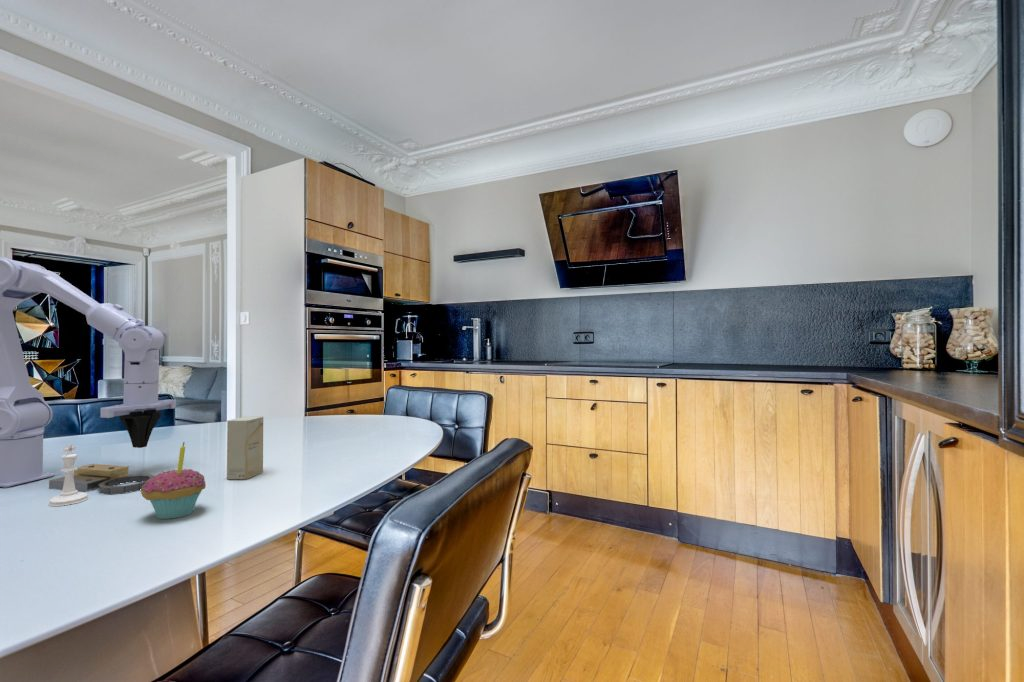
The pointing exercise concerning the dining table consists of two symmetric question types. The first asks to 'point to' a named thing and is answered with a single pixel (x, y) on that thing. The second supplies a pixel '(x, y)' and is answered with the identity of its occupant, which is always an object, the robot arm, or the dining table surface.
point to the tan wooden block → (102, 471)
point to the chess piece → (68, 482)
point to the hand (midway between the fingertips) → (139, 446)
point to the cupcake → (174, 490)
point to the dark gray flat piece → (103, 483)
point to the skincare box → (244, 447)
